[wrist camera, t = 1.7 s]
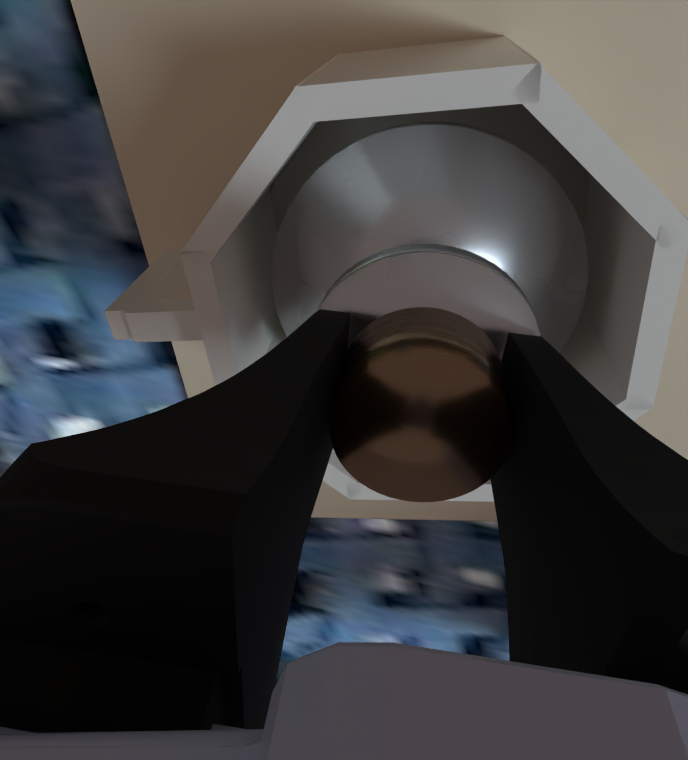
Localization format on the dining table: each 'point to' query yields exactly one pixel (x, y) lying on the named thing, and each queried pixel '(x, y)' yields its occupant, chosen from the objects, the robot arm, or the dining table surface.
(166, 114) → the press stand
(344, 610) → the dining table surface
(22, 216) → the dining table surface
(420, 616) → the dining table surface
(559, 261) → the lid
